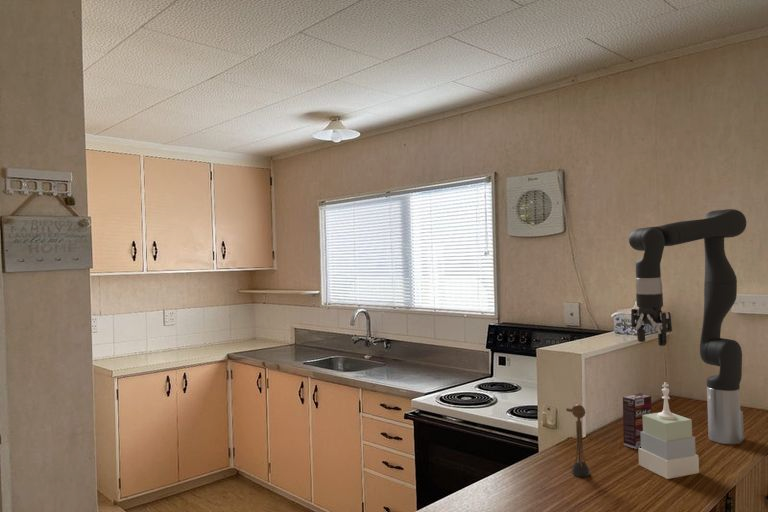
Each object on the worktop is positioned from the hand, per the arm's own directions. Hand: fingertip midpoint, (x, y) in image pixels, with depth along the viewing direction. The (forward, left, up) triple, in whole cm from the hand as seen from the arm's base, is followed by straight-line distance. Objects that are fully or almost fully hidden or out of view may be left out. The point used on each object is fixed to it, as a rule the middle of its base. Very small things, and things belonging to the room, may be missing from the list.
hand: (651, 343), depth 178 cm
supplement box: (+1, -6, -34) cm, 35 cm away
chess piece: (+7, +13, -19) cm, 24 cm away
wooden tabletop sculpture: (+32, +6, -34) cm, 47 cm away
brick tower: (+7, +13, -34) cm, 37 cm away
